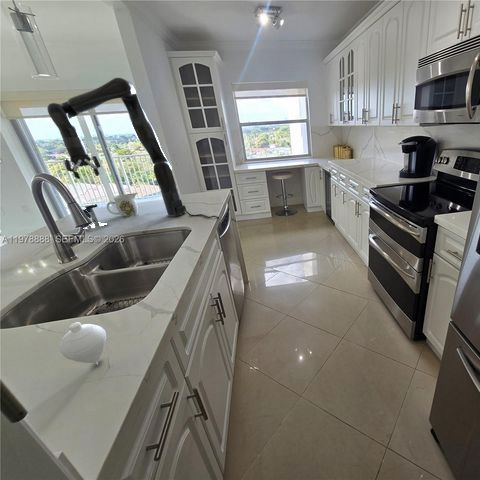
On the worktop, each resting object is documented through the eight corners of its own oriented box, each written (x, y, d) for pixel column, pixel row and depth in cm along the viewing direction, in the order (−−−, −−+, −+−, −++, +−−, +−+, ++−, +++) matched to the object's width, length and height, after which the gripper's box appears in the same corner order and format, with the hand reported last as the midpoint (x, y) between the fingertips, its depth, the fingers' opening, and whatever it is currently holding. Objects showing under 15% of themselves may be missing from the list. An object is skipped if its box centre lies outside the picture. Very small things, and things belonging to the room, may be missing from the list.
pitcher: (112, 217, 166) (103, 196, 160) (144, 211, 175) (137, 191, 169) (111, 221, 158) (102, 200, 152) (145, 215, 167) (138, 194, 161)
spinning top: (68, 373, 58) (41, 333, 53) (104, 348, 64) (83, 309, 59) (89, 383, 55) (63, 342, 50) (124, 355, 61) (104, 316, 56)
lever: (98, 207, 142) (95, 203, 142) (87, 209, 138) (85, 205, 138) (91, 212, 149) (89, 208, 149) (81, 214, 145) (79, 210, 145)
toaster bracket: (107, 225, 151) (99, 206, 146) (89, 231, 144) (80, 211, 139) (97, 223, 156) (89, 204, 152) (79, 228, 149) (70, 209, 144)
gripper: (60, 147, 127) (75, 180, 134) (94, 144, 139) (106, 175, 145) (54, 147, 131) (69, 179, 138) (87, 145, 142) (99, 174, 149)
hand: (88, 177), depth 141 cm, fingers open, 8 cm apart
